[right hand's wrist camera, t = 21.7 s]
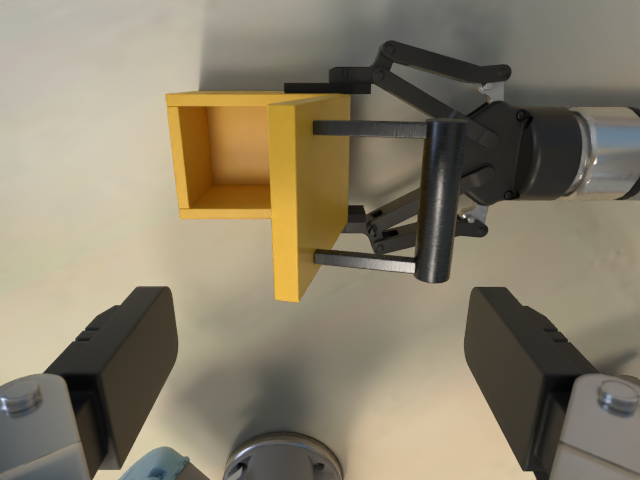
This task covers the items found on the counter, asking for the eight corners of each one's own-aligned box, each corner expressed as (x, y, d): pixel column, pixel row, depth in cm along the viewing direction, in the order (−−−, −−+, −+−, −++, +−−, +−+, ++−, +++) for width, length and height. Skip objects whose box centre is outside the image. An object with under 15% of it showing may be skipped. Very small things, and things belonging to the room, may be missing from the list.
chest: (207, 191, 43) (179, 219, 35) (197, 90, 40) (164, 93, 31) (335, 191, 43) (339, 218, 35) (336, 90, 40) (341, 94, 31)
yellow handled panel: (274, 300, 22) (450, 321, 20) (266, 104, 19) (476, 107, 17) (331, 221, 34) (444, 229, 32) (333, 94, 31) (458, 95, 29)
